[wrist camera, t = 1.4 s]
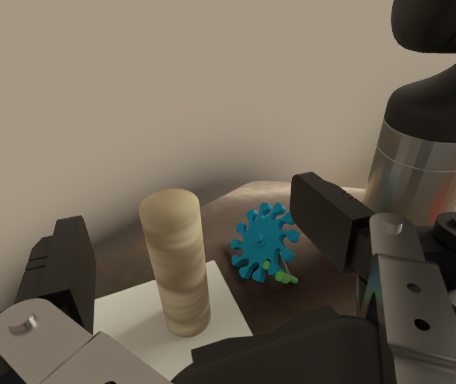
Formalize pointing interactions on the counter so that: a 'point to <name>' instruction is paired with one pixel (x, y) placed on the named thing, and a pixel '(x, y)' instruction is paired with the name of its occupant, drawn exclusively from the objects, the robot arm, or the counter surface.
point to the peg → (178, 259)
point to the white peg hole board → (157, 328)
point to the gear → (265, 244)
